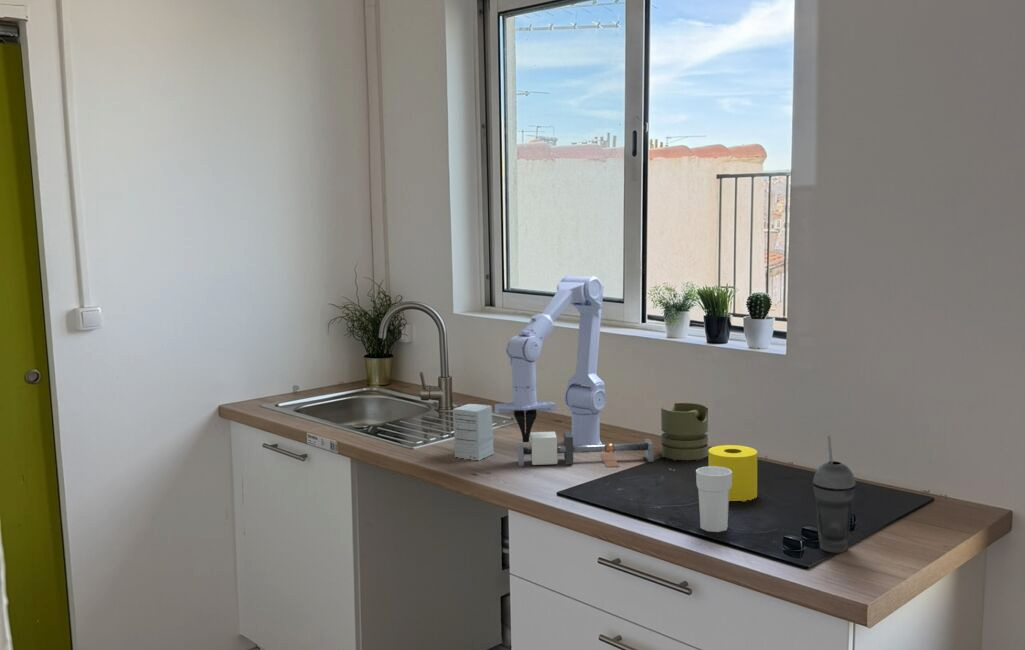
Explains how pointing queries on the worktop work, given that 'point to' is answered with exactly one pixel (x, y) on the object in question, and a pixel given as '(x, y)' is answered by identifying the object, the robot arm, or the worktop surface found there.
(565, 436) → the dark grey flat block
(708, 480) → the cup
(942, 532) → the worktop surface
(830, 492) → the beverage cup
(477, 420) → the supplement box
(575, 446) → the pipe rig
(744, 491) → the yellow toilet paper roll
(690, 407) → the piston
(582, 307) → the robot arm
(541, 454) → the sleeve
